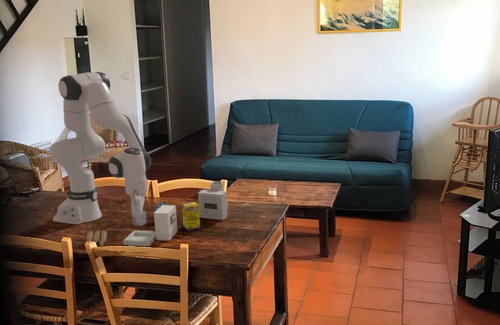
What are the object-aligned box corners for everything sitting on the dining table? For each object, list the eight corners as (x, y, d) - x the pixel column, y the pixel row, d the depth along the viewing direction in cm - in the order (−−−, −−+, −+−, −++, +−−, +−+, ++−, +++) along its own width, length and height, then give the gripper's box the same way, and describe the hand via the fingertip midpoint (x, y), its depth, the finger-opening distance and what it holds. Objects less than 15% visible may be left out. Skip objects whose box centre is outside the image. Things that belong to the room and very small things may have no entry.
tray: (123, 245, 216) (123, 240, 215) (134, 235, 226) (133, 230, 226) (148, 246, 214) (148, 241, 213) (158, 236, 224) (158, 231, 224)
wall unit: (154, 239, 220) (152, 212, 217) (163, 231, 230) (161, 205, 227) (171, 240, 219) (169, 213, 216) (179, 231, 228) (177, 205, 225)
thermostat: (199, 217, 245) (197, 186, 241) (212, 207, 258) (211, 178, 254) (223, 220, 240) (221, 188, 237) (235, 210, 253) (234, 180, 249)
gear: (161, 222, 236) (153, 203, 240) (155, 228, 240) (147, 210, 244) (181, 218, 244) (172, 200, 248) (175, 225, 247) (167, 207, 251)
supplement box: (188, 231, 228) (186, 207, 226) (183, 227, 234) (181, 203, 231) (200, 228, 231) (199, 205, 228) (195, 224, 236) (194, 201, 234)
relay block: (133, 225, 217) (131, 211, 215) (138, 221, 220) (137, 208, 219) (141, 226, 215) (140, 212, 214) (146, 222, 219) (145, 209, 218)
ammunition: (89, 230, 221) (83, 237, 214) (106, 229, 222) (102, 236, 214) (90, 240, 223) (85, 248, 215) (107, 240, 223) (103, 247, 215)
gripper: (142, 194, 204) (145, 227, 208) (145, 180, 224) (148, 211, 228) (126, 195, 204) (129, 229, 207) (130, 181, 223) (134, 212, 227)
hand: (139, 219), depth 217 cm, fingers closed on relay block, 5 cm apart
